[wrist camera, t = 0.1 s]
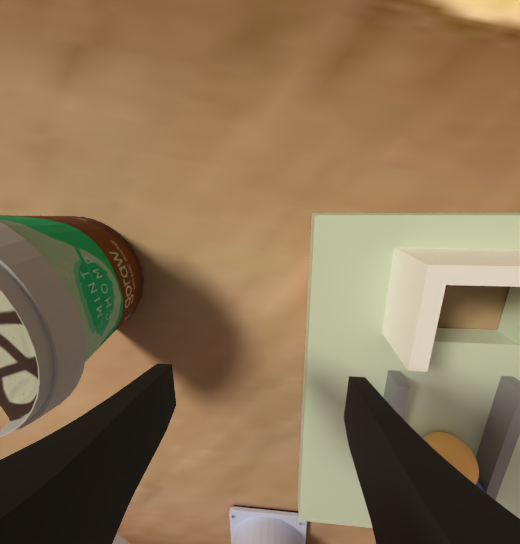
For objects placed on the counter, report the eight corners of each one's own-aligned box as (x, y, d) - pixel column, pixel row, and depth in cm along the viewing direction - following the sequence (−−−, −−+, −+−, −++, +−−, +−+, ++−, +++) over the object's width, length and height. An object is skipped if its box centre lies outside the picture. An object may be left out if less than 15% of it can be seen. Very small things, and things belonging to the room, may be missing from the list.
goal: (539, 338, 17) (612, 381, 13) (381, 333, 18) (408, 370, 14) (570, 249, 15) (665, 268, 11) (394, 247, 16) (428, 264, 12)
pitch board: (512, 516, 24) (549, 569, 21) (297, 496, 26) (299, 542, 23) (636, 212, 16) (730, 217, 13) (311, 212, 18) (318, 217, 15)
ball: (452, 456, 20) (485, 508, 17) (406, 453, 21) (429, 503, 17) (462, 422, 19) (499, 469, 16) (413, 418, 20) (439, 464, 16)
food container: (182, 322, 22) (101, 425, 12) (119, 340, 23) (-1, 447, 13) (113, 172, 18) (-69, 151, 9) (44, 201, 20) (-184, 209, 10)
